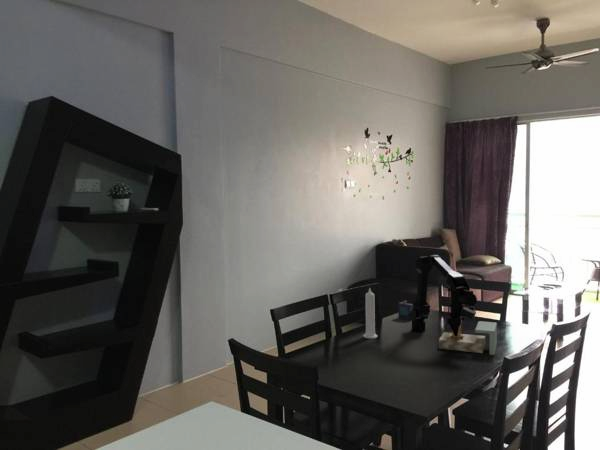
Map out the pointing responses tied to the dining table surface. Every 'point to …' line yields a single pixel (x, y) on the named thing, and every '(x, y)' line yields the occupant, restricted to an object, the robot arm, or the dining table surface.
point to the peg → (458, 334)
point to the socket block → (462, 342)
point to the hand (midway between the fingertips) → (456, 334)
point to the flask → (405, 310)
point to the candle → (370, 315)
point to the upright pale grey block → (490, 329)
